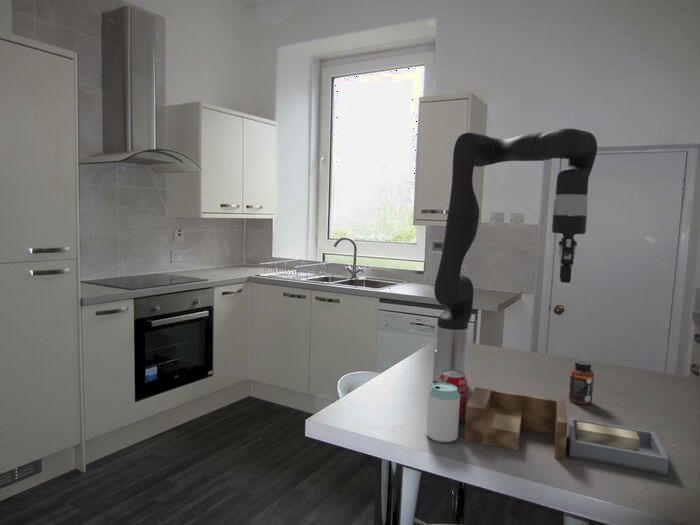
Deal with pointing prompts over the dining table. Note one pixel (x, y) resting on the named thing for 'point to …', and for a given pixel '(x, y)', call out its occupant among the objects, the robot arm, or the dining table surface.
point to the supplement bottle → (581, 383)
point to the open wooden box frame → (514, 418)
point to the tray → (621, 450)
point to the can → (443, 412)
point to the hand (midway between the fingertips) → (564, 280)
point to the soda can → (461, 383)
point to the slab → (607, 436)
